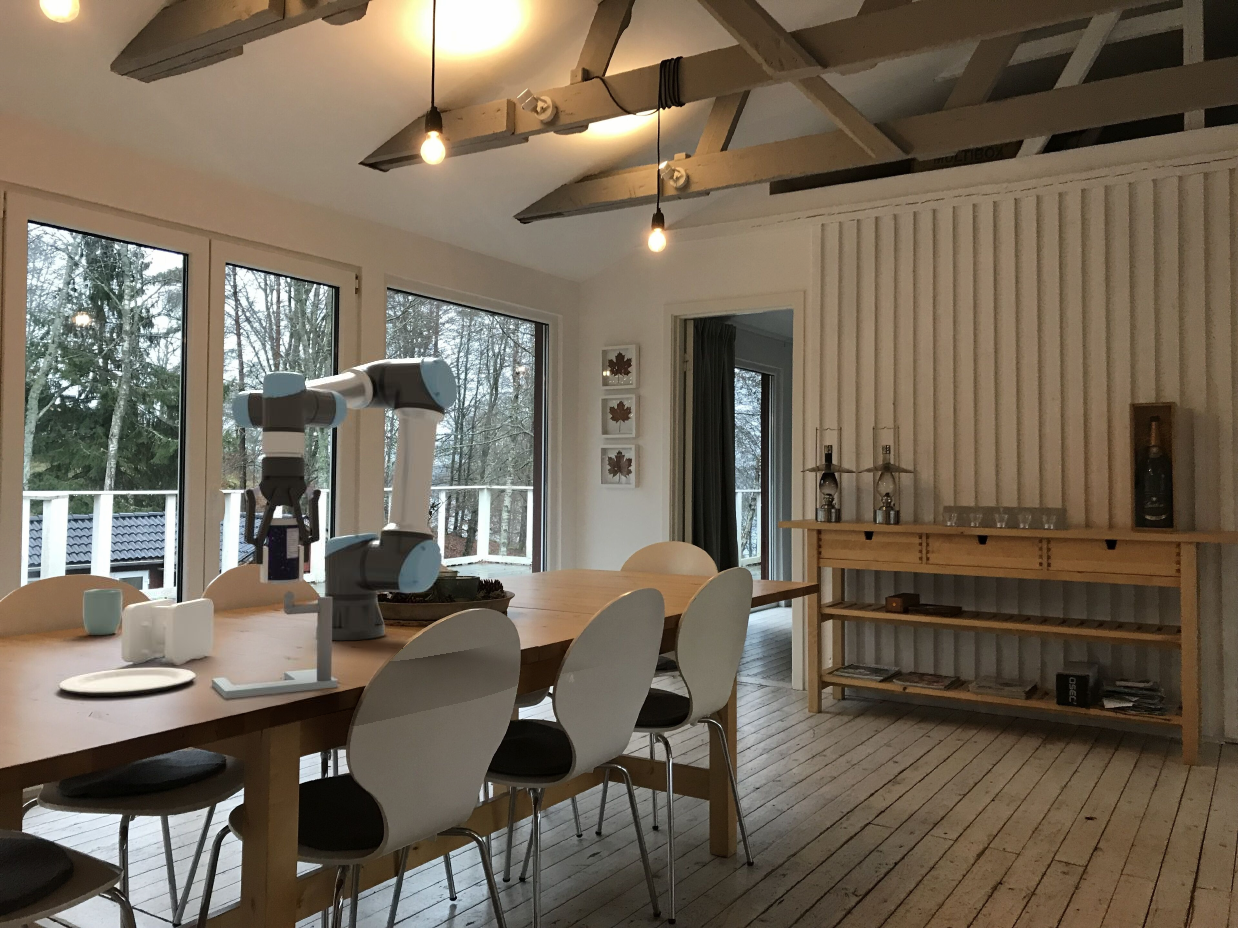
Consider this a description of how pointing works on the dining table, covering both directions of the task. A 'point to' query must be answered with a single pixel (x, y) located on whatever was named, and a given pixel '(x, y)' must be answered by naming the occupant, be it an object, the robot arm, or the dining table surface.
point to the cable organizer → (167, 630)
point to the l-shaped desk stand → (300, 678)
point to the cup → (102, 611)
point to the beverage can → (283, 550)
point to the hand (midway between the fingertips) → (281, 581)
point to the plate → (127, 681)
